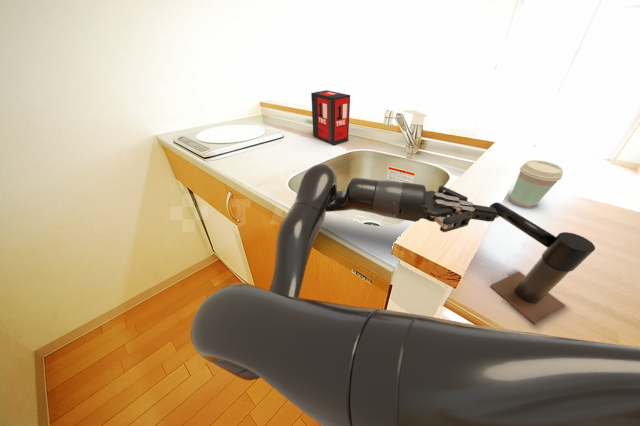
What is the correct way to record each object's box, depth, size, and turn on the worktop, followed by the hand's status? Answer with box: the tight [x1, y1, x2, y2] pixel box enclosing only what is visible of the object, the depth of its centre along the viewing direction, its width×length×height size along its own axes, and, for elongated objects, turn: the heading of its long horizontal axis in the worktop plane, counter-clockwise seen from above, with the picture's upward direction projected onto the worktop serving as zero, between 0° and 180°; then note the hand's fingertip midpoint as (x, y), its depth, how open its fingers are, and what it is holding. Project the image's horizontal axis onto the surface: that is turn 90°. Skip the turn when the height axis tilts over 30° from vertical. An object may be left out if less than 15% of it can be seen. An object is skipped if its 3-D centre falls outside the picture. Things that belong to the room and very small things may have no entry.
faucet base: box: [489, 256, 571, 326], centre depth 39 cm, size 8×8×10 cm
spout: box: [489, 201, 596, 272], centre depth 39 cm, size 15×4×4 cm, turn 17°
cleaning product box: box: [310, 89, 351, 146], centre depth 107 cm, size 16×9×20 cm, turn 37°
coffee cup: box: [508, 159, 564, 209], centre depth 62 cm, size 9×8×12 cm
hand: (494, 215), depth 42 cm, fingers closed
